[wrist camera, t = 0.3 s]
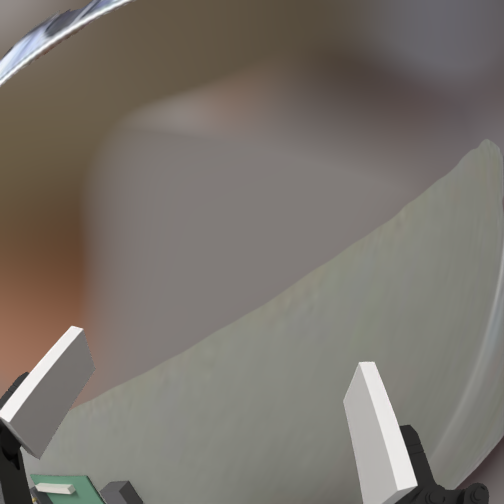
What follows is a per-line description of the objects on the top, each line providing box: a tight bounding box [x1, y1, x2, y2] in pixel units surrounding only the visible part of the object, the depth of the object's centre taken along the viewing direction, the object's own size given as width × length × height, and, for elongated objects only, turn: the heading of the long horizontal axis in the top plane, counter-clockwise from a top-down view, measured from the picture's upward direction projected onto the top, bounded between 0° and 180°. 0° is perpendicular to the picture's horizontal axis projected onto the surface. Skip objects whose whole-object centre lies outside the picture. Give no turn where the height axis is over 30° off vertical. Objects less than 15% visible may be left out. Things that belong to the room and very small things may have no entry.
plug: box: [100, 481, 143, 504], centre depth 35 cm, size 6×5×5 cm
